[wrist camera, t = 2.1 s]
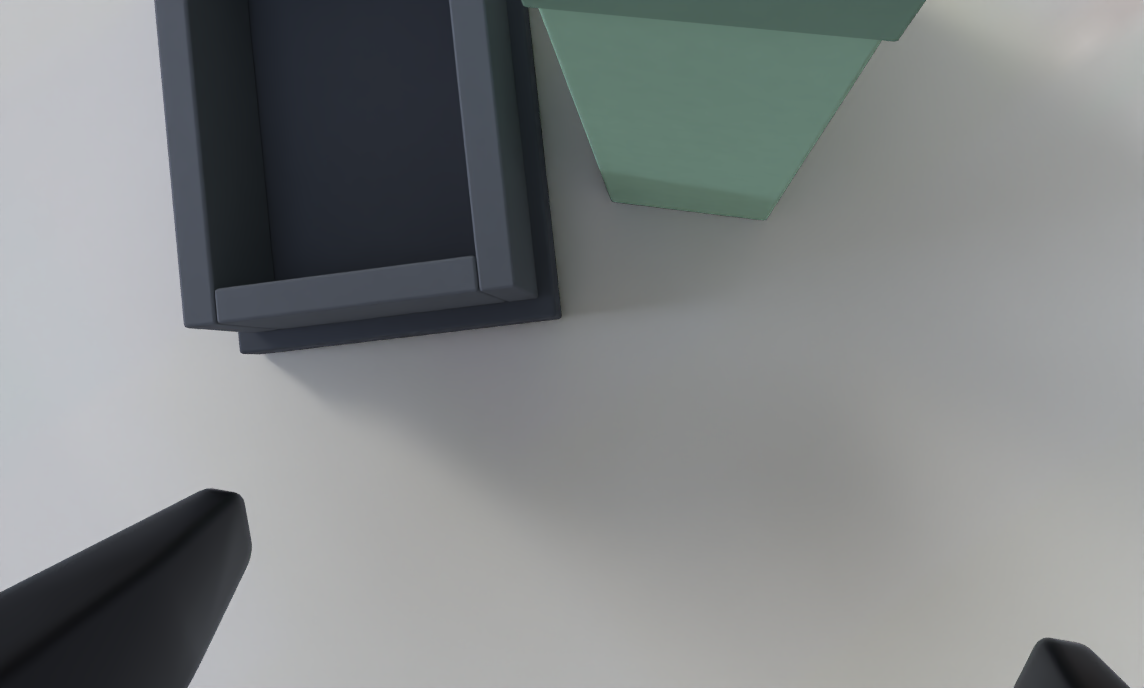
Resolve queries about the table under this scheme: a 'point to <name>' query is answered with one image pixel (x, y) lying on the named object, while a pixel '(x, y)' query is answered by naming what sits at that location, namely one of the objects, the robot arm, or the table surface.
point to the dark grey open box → (355, 168)
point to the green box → (712, 90)
